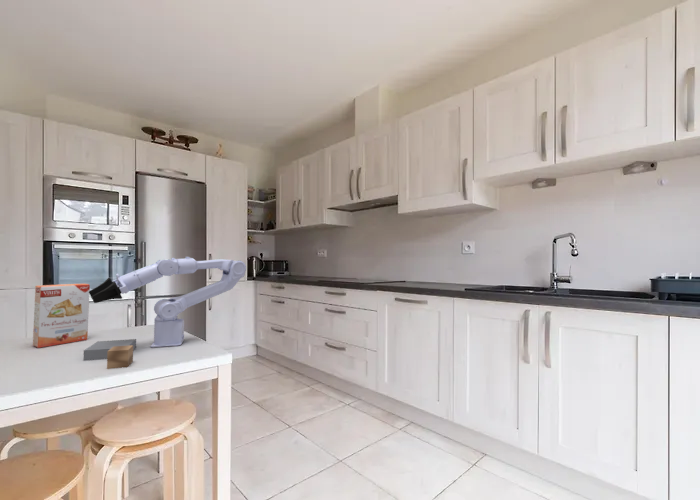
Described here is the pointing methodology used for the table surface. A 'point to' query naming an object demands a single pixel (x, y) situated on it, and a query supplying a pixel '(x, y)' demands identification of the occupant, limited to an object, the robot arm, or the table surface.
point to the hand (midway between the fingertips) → (91, 297)
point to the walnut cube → (119, 356)
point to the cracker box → (60, 314)
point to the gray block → (105, 348)
